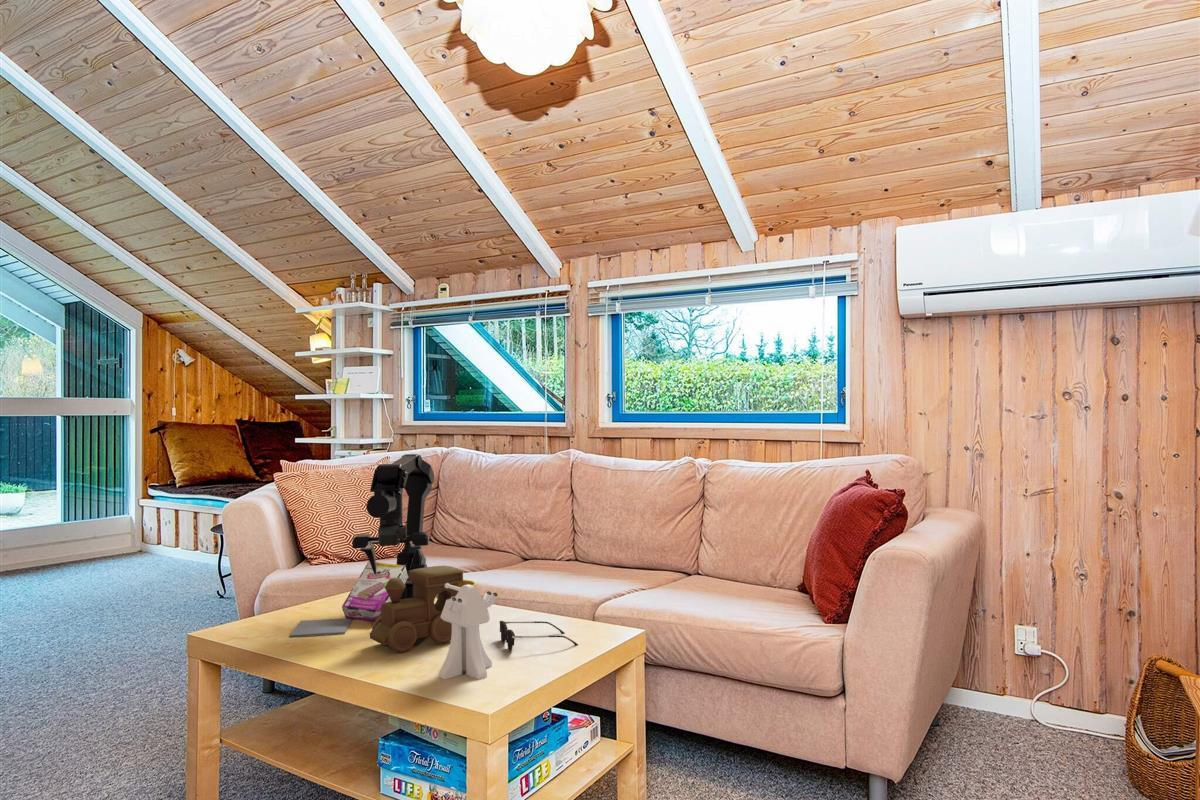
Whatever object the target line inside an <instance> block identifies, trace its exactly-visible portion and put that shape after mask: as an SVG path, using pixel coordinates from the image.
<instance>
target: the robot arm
mask: <svg viewBox="0 0 1200 800" xmlns="http://www.w3.org/2000/svg"><path fill="white" fill-rule="evenodd" d="M434 482H435V473H434V471H433V468H432V465H431V464H430V463H428V462H427V461H425V460H424V459H423V458H422V455H420V454H417V453H413V454H412V453H410V454H407V453H406V454H403V455H402V456H401V457H400V458H399V459H397V460H395V461H393V462H392V463H381V464H380V463H379V464H378V465H377V466H376V468H375V469H374V472H373V476H372V480H371V485H370V490H369V491H370V493H373V495H372V496H370V497H369V499H368V500H367V502H366V505H365V506H366V512H367V513H368V515H370V516H371V517H373V518H377V519H379V526H378V530H377V531H378V532H377V533H378V535H377V536H372V534H371V533H360V534H356V535H355V536H354V537H353V538H352V541H351V542H352V544H351V545H352V549H359V551H360V552H363V553H365V555H366V557H367V559H368V562H369V561H370V564H371V567H372V569H373V572H374V575H376V569H377V567H376V562H377V560H376V549H375V545H379V546H380V547H385V546H392V547H395V546H398V545H399V544H404V547H403V549H402V550H401V552H398V553H397V556H396V565H405V566H406V570H407V574H408V577H409V571H410V570H414V569H419V568H426V567H428V565H427V558H426V557H425V555H424V553H423V551H422V547H423V546H429V543H430V534H429V532H428V531H423V529H424V516H425V515H424V514H425V504H426V502H425V501H426V499H427V497H428V496H429V494H430V493H431V492H432V487H433V484H434ZM404 491H405V493H406V494H407V496H408V501H407V513H406V524H403V522H404V521H403V518H404V517H403V493H404ZM405 585H406V587H405V589H404V591H403V594H402V596H401V598H400V600H401V599H407V598H414V595H413V583H412V582H409V578H408V580H407V582H406V583H405Z"/></svg>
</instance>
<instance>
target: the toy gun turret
mask: <svg viewBox="0 0 1200 800" xmlns="http://www.w3.org/2000/svg"><path fill="white" fill-rule="evenodd" d="M445 588H450V589H454V590H457V591H459V592H458V593H457V595H456V596H455V597H451V599H448V600H446V602H445V606H444V608H443V611H442V614H441V617H440V618H442V619H443V620H444V621H446V622H449V623H452V635H451V640H450V644H449V647H448V651H447V654H446V658H445V660H444V662H443V663H442V666H441V667H440V669H439V671H438V678H440V679H442V680H446V679H451V678H454V677H457V676H460V675H465V676H466V675H467V676H470V677H472V678H474V679H477V680H481V679H484V678H488V671H487V668H490V667H493V661H492V659H491V657H490V656H489V654H488V653H487V652H486V650H485V647H484V644H483V642H482V639H481V632H480V631H481V630H480V625H482V624H486V623H489V621H490V620H491V619H492V618H491V614H490V612H489V609H488V608H490V607H492V606H493V605H494V603H495V602H496V600H497V598H498V596H499V594H498V593H497V592H496V591H493V592H492V591H490V590H487V591H486V592H485V594H484V595H483V597H482V596H481V594H480V593H479V589H478V588H477V586H476V587H474V586H473V585H469V584H468V585H463V586H462V587H456V586H453V585H450V584H449V583H446V584H445Z"/></svg>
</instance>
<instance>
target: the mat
mask: <svg viewBox="0 0 1200 800" xmlns="http://www.w3.org/2000/svg"><path fill="white" fill-rule="evenodd" d="M352 621H353V620H352V619H346V618H343V617H342V618H327V619H326V618H325V619H323V618H322V619H307V620H306V619H305V620H300V621H299V622H298V623H297V625H296V626H295V627H294V629H293V630H292V631H291V632H290V633H289V634H288V636H289V638H301V637H302V638H303V637H314V636H315V637H317V636H333V635H345V634H346V633H347V631H348V629H349V627H350V625H351V623H352Z"/></svg>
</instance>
